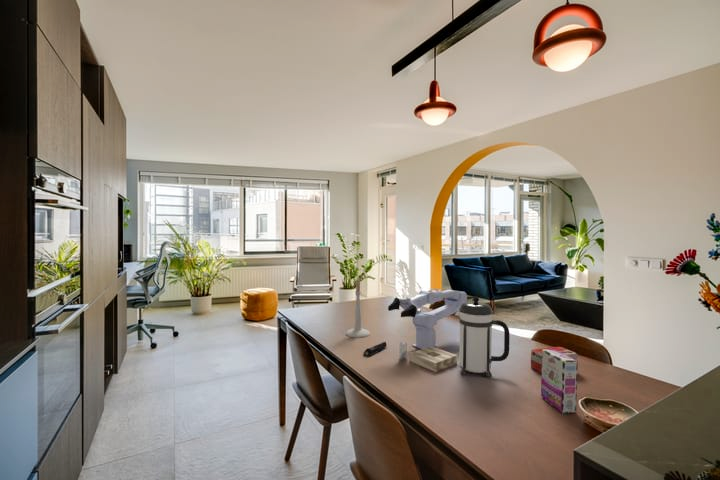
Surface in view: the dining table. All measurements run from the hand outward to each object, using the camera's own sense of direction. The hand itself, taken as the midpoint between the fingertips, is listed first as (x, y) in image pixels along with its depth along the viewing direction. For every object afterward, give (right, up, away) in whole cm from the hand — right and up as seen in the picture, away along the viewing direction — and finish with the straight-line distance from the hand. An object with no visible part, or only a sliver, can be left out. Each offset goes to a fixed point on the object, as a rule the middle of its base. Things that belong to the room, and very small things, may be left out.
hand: (394, 311), depth 153 cm
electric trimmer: (-8, -20, +7) cm, 23 cm away
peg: (+3, -20, -3) cm, 21 cm away
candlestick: (-17, -19, +33) cm, 42 cm away
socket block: (+16, -20, -6) cm, 26 cm away
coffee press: (+32, -21, -15) cm, 41 cm away
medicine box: (+62, -21, -14) cm, 67 cm away
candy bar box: (+49, -22, -41) cm, 67 cm away
